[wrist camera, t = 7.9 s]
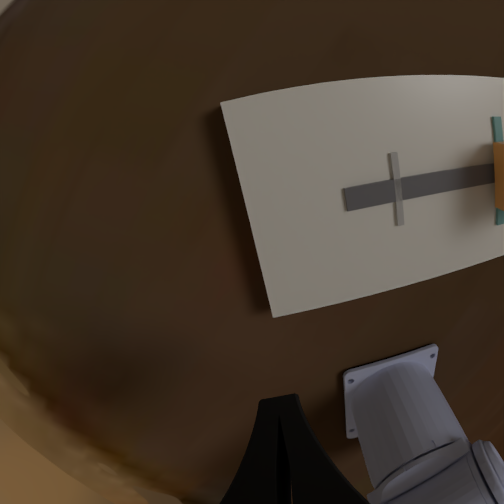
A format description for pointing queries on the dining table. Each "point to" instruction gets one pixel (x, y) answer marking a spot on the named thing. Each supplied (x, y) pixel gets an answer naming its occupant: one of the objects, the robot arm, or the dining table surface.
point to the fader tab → (499, 174)
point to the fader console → (368, 183)
